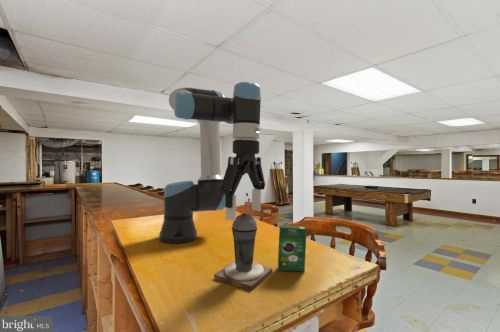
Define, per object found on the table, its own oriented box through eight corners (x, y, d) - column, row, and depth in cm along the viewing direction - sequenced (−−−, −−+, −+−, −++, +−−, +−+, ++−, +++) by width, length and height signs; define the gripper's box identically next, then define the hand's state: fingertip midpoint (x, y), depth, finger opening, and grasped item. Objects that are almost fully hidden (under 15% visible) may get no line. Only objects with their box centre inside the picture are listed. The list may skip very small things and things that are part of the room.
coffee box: (304, 268, 76) (305, 225, 76) (305, 272, 74) (306, 228, 73) (277, 267, 77) (278, 224, 77) (278, 271, 74) (279, 227, 74)
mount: (214, 278, 69) (214, 271, 69) (238, 263, 79) (238, 257, 79) (251, 290, 63) (251, 283, 63) (272, 272, 73) (272, 265, 73)
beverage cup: (231, 263, 74) (231, 196, 74) (255, 263, 75) (256, 196, 74) (231, 274, 67) (232, 200, 66) (258, 274, 67) (259, 200, 67)
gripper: (231, 136, 57) (229, 227, 58) (276, 142, 79) (275, 208, 80) (206, 136, 61) (205, 222, 62) (256, 142, 83) (254, 205, 83)
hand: (244, 214), depth 71 cm, fingers open, 13 cm apart
